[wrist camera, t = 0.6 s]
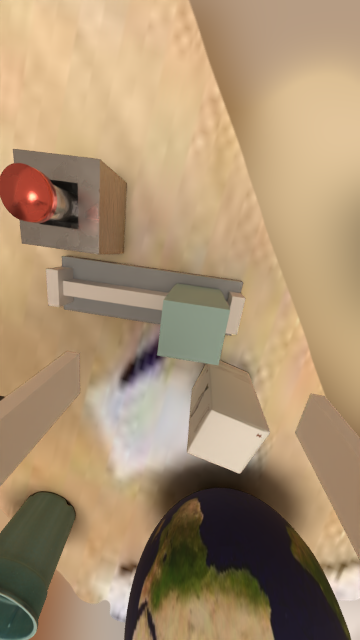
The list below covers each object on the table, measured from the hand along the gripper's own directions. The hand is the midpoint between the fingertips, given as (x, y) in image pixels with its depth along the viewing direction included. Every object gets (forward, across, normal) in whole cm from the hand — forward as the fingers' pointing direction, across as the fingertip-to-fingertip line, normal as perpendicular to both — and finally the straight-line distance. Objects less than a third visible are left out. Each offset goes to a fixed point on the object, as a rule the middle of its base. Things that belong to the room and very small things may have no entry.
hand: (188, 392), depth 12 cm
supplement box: (+22, +6, -13) cm, 26 cm away
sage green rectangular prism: (+20, 0, 0) cm, 20 cm away
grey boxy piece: (+22, -16, +10) cm, 29 cm away
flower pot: (+22, -26, -55) cm, 64 cm away
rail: (+22, -7, 0) cm, 23 cm away
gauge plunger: (+16, -16, +10) cm, 25 cm away
